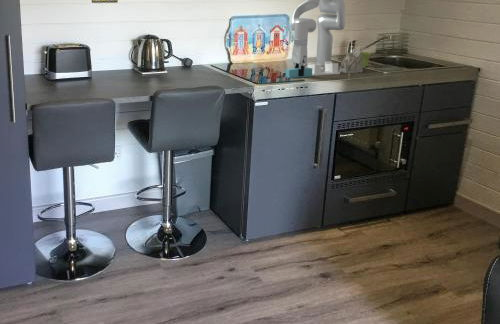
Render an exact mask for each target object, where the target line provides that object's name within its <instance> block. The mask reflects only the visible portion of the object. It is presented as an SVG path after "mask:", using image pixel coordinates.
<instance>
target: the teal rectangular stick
mask: <svg viewBox="0 0 500 324" xmlns="http://www.w3.org/2000/svg"><path fill="white" fill-rule="evenodd" d="M299 69H300V68H295V67H293V68H291V67H290V68H285V78H288V79H292V78H293V79H295V78H307V77H313V75H312V68H309V67H308V66H307V67H305V69H304V76H298V74H299Z"/></svg>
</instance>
